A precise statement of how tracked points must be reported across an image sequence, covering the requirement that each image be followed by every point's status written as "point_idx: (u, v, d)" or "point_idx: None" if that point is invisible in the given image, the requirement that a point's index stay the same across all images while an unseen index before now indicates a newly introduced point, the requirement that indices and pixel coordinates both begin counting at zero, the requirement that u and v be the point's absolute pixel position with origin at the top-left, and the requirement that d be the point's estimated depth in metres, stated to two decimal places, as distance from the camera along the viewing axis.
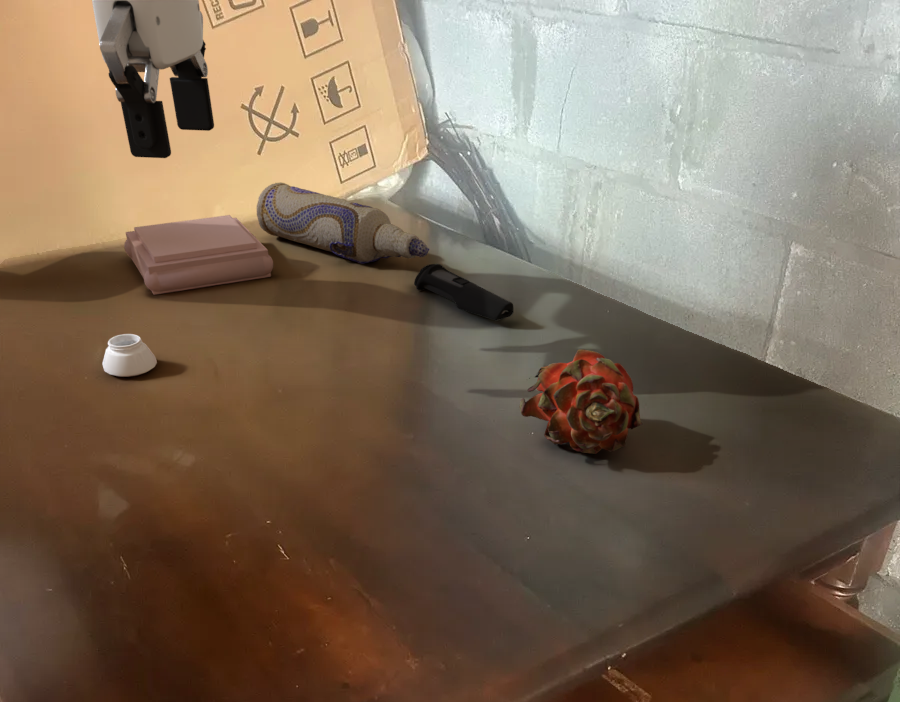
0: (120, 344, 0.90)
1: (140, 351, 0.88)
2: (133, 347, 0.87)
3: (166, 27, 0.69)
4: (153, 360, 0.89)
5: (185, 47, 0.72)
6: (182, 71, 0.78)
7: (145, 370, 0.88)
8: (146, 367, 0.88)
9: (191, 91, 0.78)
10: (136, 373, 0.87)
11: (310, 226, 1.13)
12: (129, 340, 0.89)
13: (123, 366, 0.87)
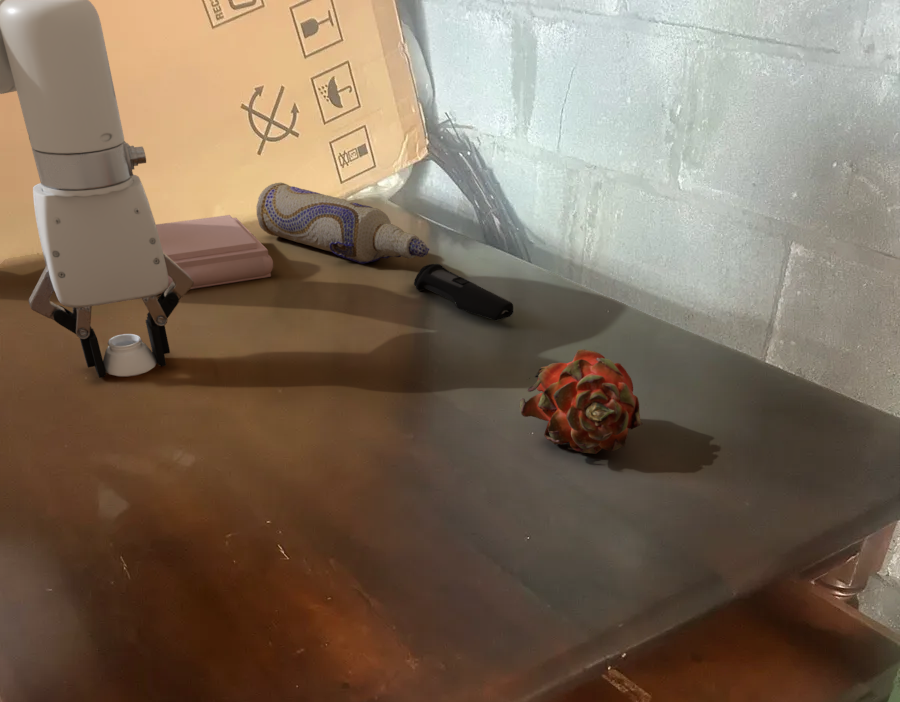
0: (120, 344, 0.90)
1: (140, 351, 0.88)
2: (133, 347, 0.87)
3: (75, 279, 0.81)
4: (153, 360, 0.89)
5: (117, 292, 0.83)
6: None
7: (145, 370, 0.88)
8: (146, 367, 0.88)
9: (150, 333, 0.88)
10: (136, 373, 0.87)
11: (310, 226, 1.13)
12: (129, 340, 0.89)
13: (123, 366, 0.87)
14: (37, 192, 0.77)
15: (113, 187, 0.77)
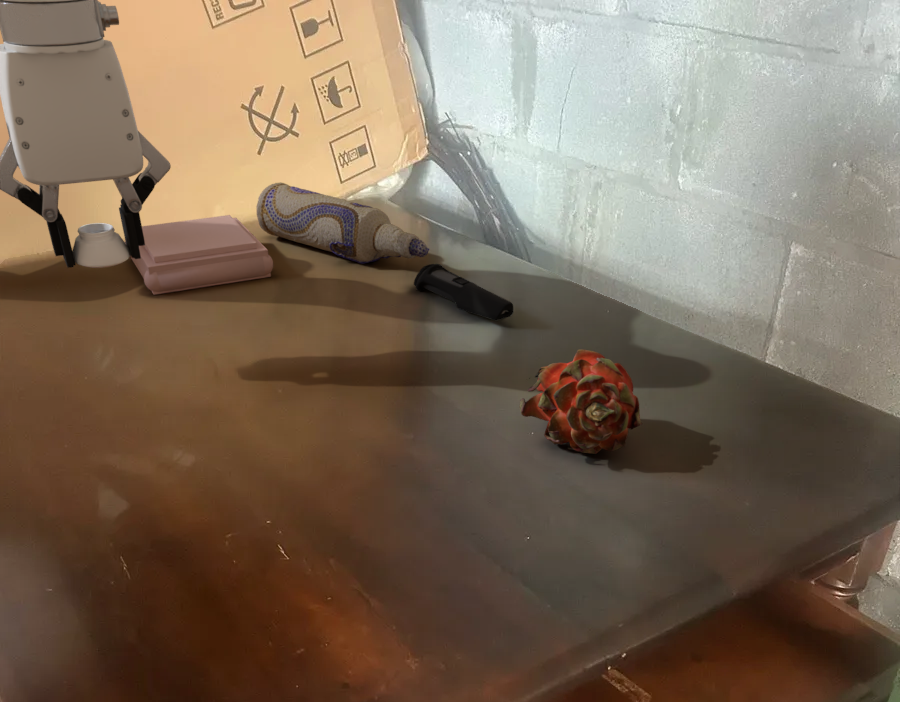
0: None
1: (112, 240, 0.82)
2: (104, 235, 0.81)
3: (41, 151, 0.74)
4: (127, 252, 0.83)
5: (87, 170, 0.77)
6: None
7: (118, 261, 0.82)
8: (118, 258, 0.82)
9: (123, 221, 0.82)
10: (108, 264, 0.81)
11: (310, 226, 1.13)
12: (101, 230, 0.83)
13: (94, 256, 0.81)
14: None
15: (82, 45, 0.71)
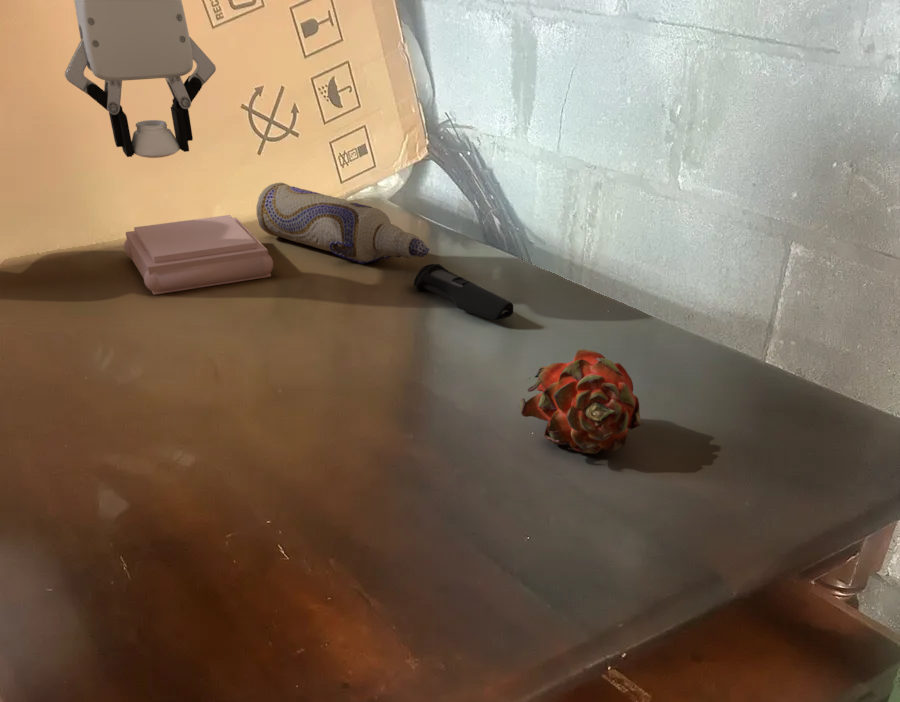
0: None
1: (165, 133, 0.95)
2: (158, 128, 0.94)
3: (108, 49, 0.88)
4: (177, 144, 0.96)
5: (145, 67, 0.90)
6: (173, 97, 0.95)
7: (169, 152, 0.95)
8: (170, 148, 0.95)
9: (175, 117, 0.95)
10: (161, 153, 0.94)
11: (310, 226, 1.13)
12: None
13: (149, 146, 0.94)
14: None
15: None
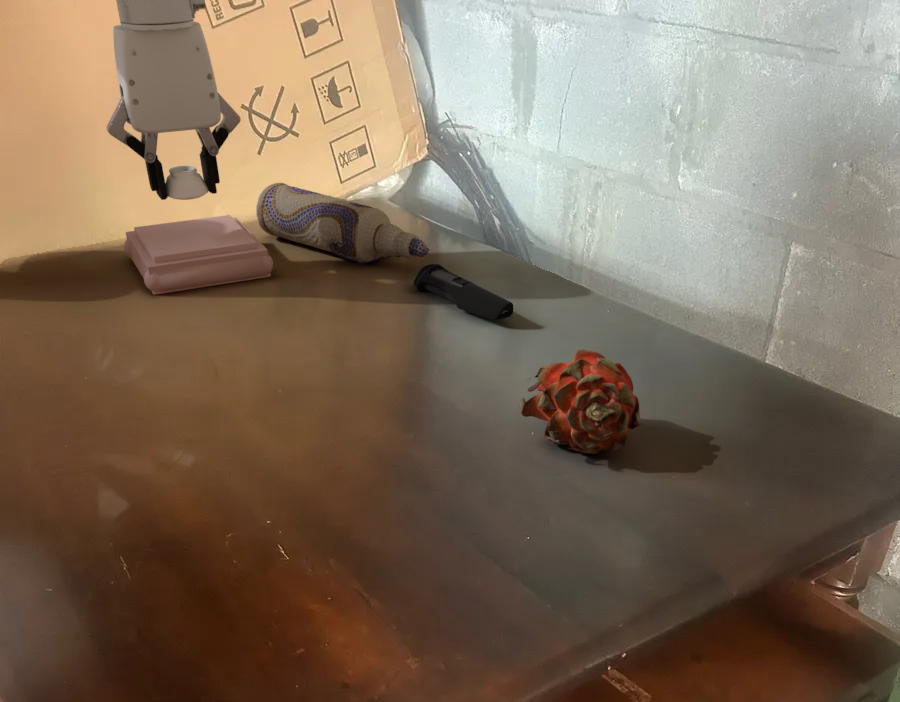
0: None
1: (195, 178, 1.05)
2: (190, 174, 1.04)
3: (146, 106, 0.98)
4: (206, 187, 1.06)
5: (179, 121, 1.00)
6: (202, 145, 1.05)
7: (200, 194, 1.05)
8: (200, 191, 1.05)
9: (204, 163, 1.05)
10: (192, 196, 1.05)
11: (310, 226, 1.13)
12: (186, 171, 1.06)
13: (182, 190, 1.04)
14: (118, 29, 0.94)
15: (180, 24, 0.94)
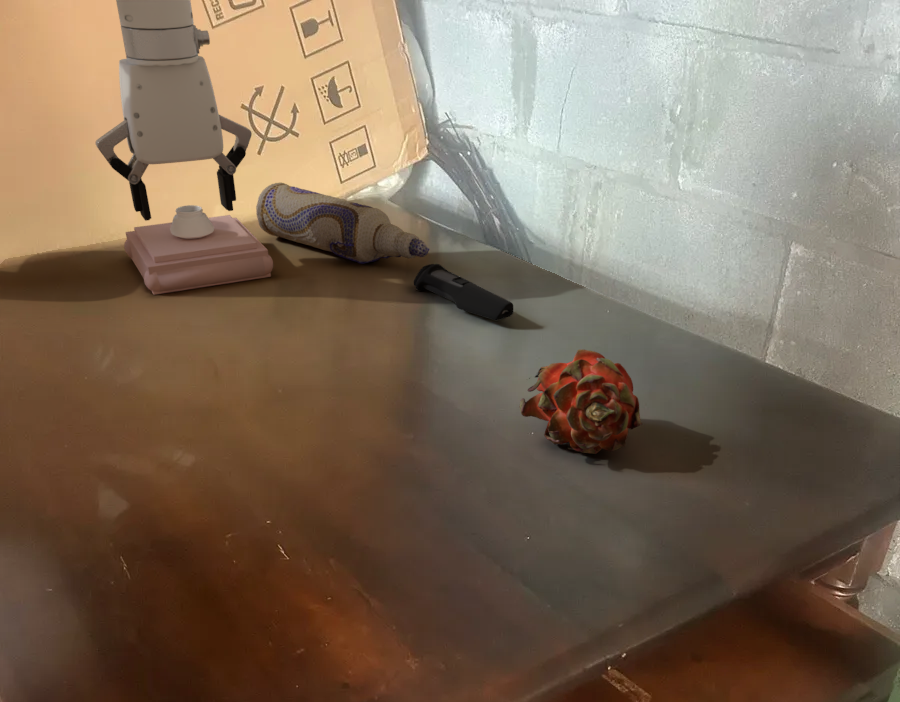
0: None
1: (201, 217, 1.08)
2: (196, 214, 1.07)
3: (150, 138, 1.00)
4: (211, 226, 1.09)
5: (182, 152, 1.02)
6: (219, 167, 1.07)
7: (205, 233, 1.08)
8: (206, 231, 1.08)
9: (221, 181, 1.07)
10: (198, 235, 1.08)
11: (310, 226, 1.13)
12: (192, 210, 1.09)
13: (188, 229, 1.07)
14: (123, 63, 0.96)
15: (184, 60, 0.96)
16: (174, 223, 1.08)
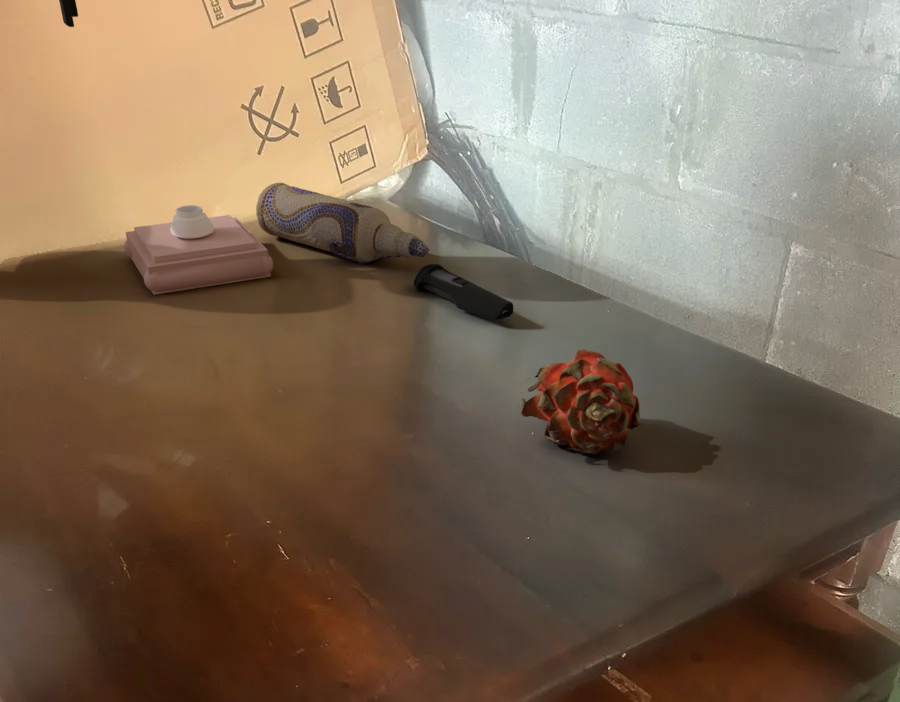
0: None
1: (201, 217, 1.08)
2: (196, 214, 1.07)
3: None
4: (211, 226, 1.09)
5: None
6: None
7: (205, 233, 1.08)
8: (206, 231, 1.08)
9: None
10: (198, 235, 1.08)
11: (310, 226, 1.13)
12: (192, 210, 1.09)
13: (188, 229, 1.07)
14: None
15: None
16: (174, 223, 1.08)
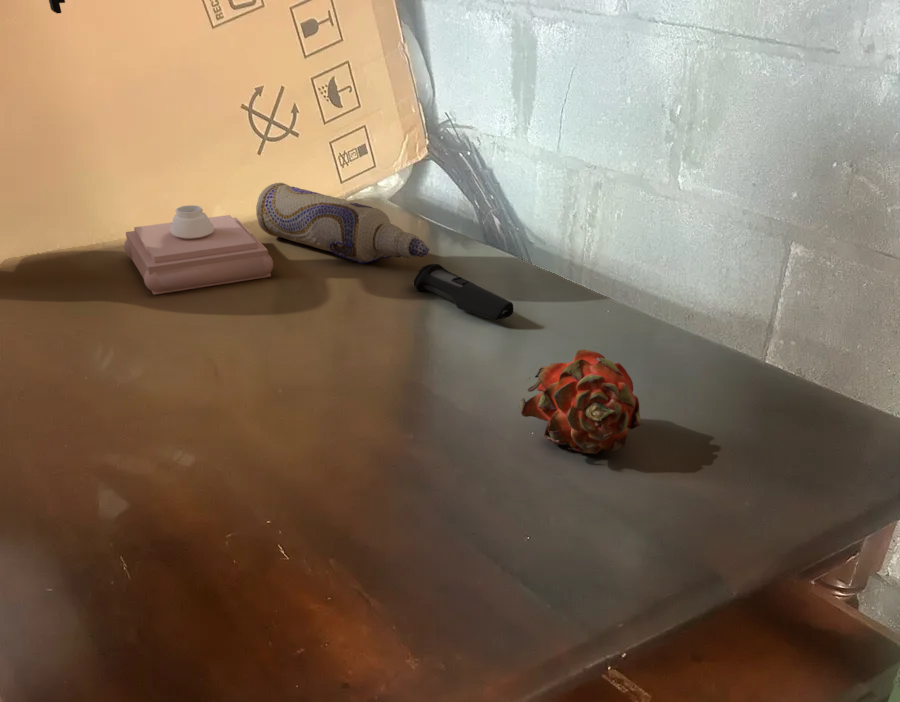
0: None
1: (201, 217, 1.08)
2: (196, 214, 1.07)
3: None
4: (211, 226, 1.09)
5: None
6: None
7: (205, 233, 1.08)
8: (206, 231, 1.08)
9: None
10: (198, 235, 1.08)
11: (310, 226, 1.13)
12: (192, 210, 1.09)
13: (188, 229, 1.07)
14: None
15: None
16: (174, 223, 1.08)
